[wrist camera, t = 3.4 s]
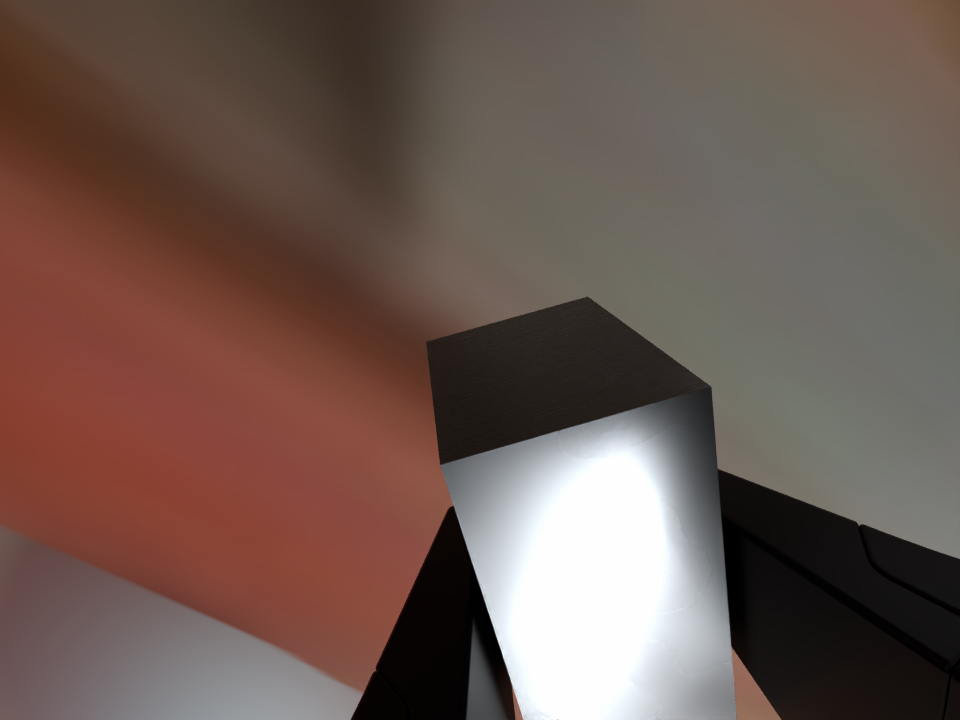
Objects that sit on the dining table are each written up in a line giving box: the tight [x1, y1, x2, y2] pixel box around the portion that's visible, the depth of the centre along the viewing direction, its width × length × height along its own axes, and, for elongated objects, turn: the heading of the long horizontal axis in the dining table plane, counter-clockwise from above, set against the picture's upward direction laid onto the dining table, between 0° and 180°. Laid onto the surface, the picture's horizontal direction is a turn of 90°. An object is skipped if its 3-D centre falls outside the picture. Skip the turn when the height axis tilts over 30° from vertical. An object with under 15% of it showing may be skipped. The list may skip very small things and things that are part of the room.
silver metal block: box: [426, 297, 737, 720], centre depth 8 cm, size 3×6×4 cm, turn 14°
